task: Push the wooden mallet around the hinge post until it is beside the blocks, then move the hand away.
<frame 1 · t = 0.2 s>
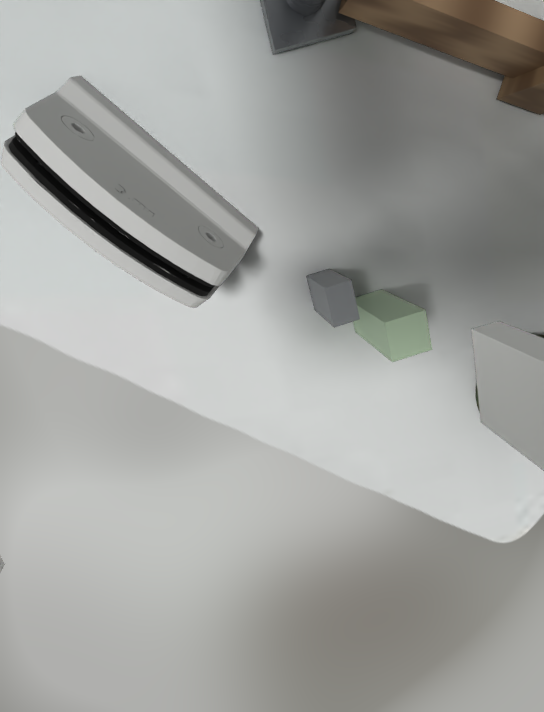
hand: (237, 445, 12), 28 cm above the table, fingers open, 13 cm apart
blocks: (368, 311, 41), on the table
wooden mallet: (479, 30, 32), point 4 cm above the table, hinge at 60.0°
hinge: (144, 199, 36), on the table
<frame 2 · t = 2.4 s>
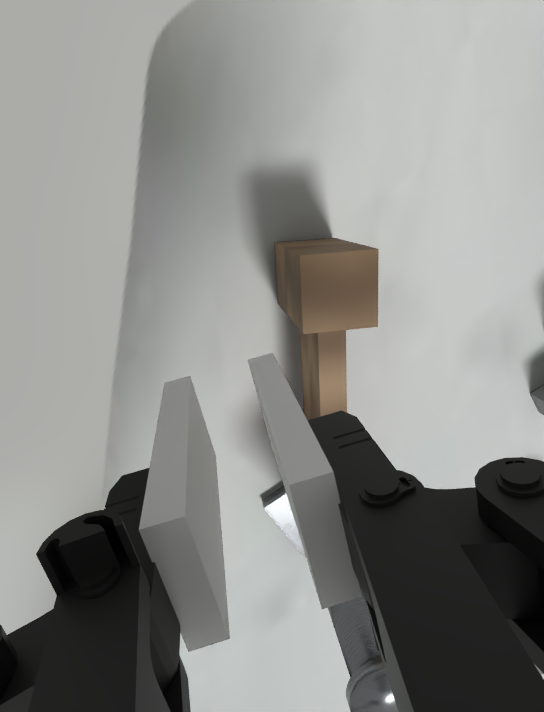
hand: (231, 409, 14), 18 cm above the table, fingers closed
hinge post: (314, 504, 38), on the table
wooden mallet: (324, 390, 30), point 4 cm above the table, hinge at 60.0°
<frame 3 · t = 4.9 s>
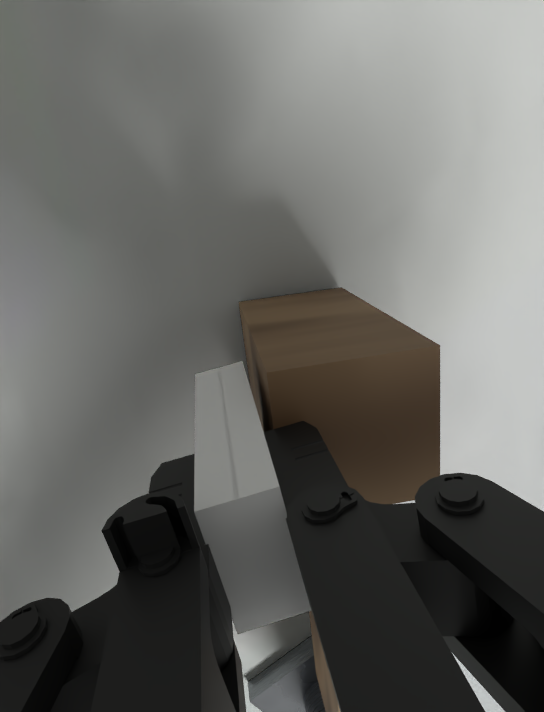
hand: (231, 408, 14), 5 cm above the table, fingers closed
hinge post: (328, 678, 25), on the table
wooden mallet: (335, 558, 17), point 4 cm above the table, hinge at 58.2°, touching gripper
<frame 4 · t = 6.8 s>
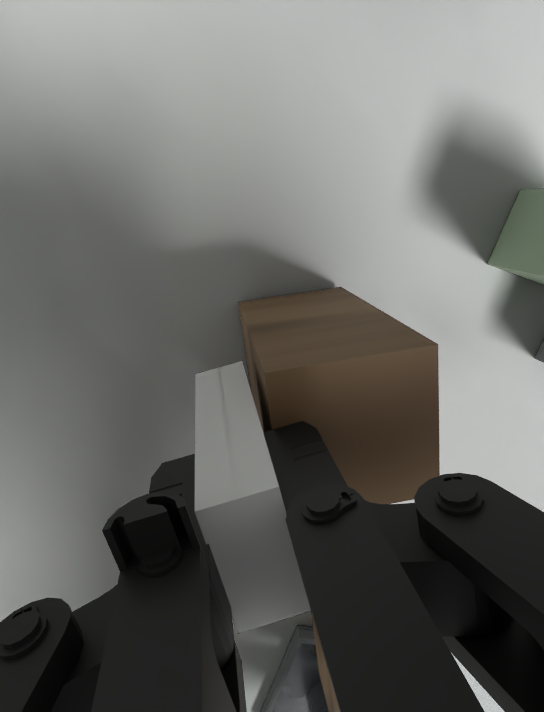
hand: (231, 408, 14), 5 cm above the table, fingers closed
hinge post: (331, 677, 25), on the table
blocks: (534, 239, 19), on the table
wooden mallet: (336, 558, 17), point 4 cm above the table, hinge at 25.7°, touching gripper
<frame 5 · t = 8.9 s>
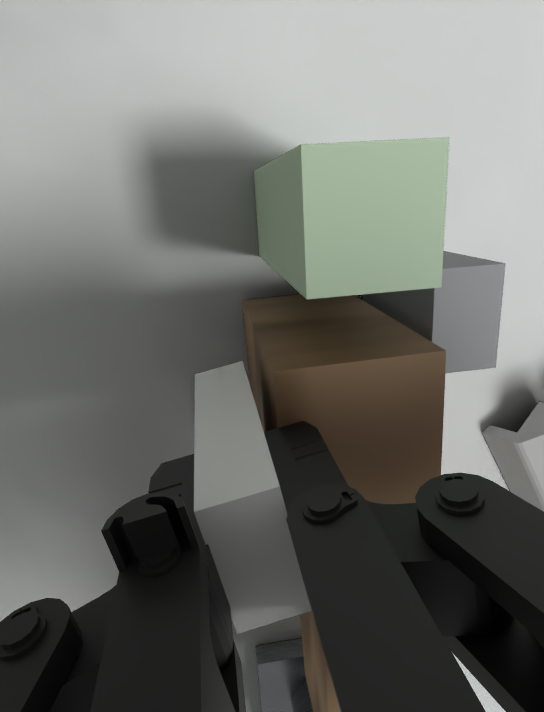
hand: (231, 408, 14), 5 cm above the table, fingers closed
hinge post: (316, 679, 25), on the table
blocks: (297, 212, 18), on the table
wooden mallet: (329, 559, 17), point 4 cm above the table, hinge at 0.8°, touching gripper
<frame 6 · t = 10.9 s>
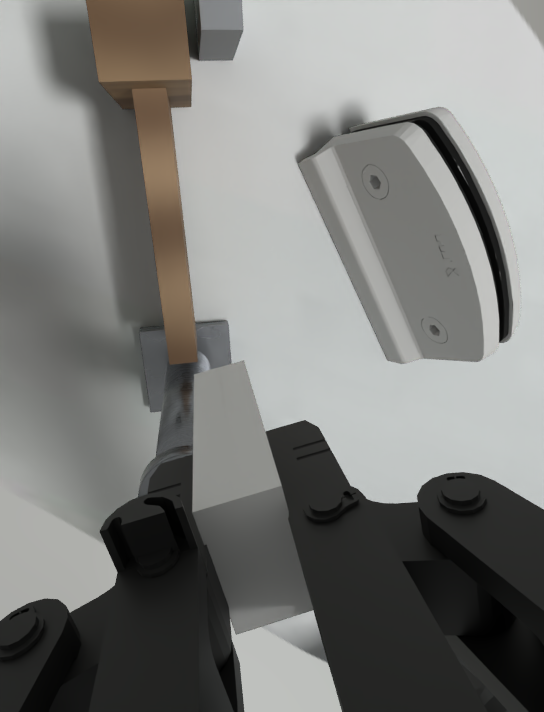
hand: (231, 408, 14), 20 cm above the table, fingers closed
hinge post: (188, 364, 34), on the table
wooden mallet: (165, 197, 26), point 4 cm above the table, hinge at 0.7°
hinge: (392, 243, 34), on the table
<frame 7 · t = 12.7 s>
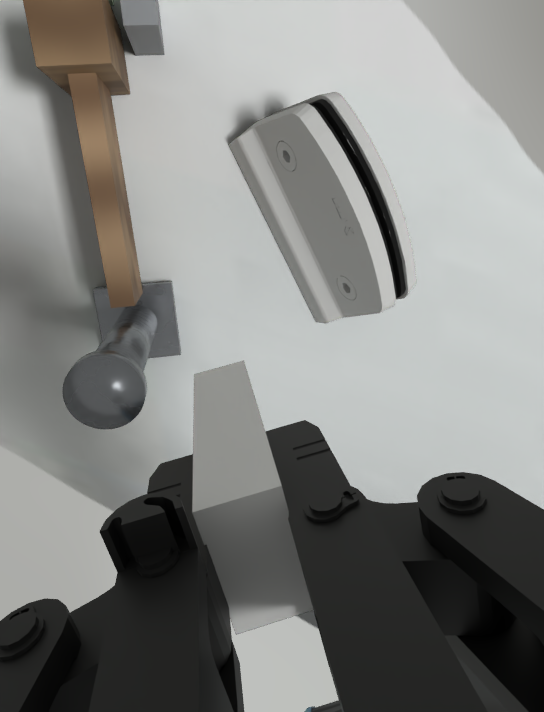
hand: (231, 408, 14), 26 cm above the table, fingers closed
hinge post: (139, 320, 39), on the table
wooden mallet: (104, 167, 32), point 4 cm above the table, hinge at 0.7°
hinge: (316, 216, 39), on the table
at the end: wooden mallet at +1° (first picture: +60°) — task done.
